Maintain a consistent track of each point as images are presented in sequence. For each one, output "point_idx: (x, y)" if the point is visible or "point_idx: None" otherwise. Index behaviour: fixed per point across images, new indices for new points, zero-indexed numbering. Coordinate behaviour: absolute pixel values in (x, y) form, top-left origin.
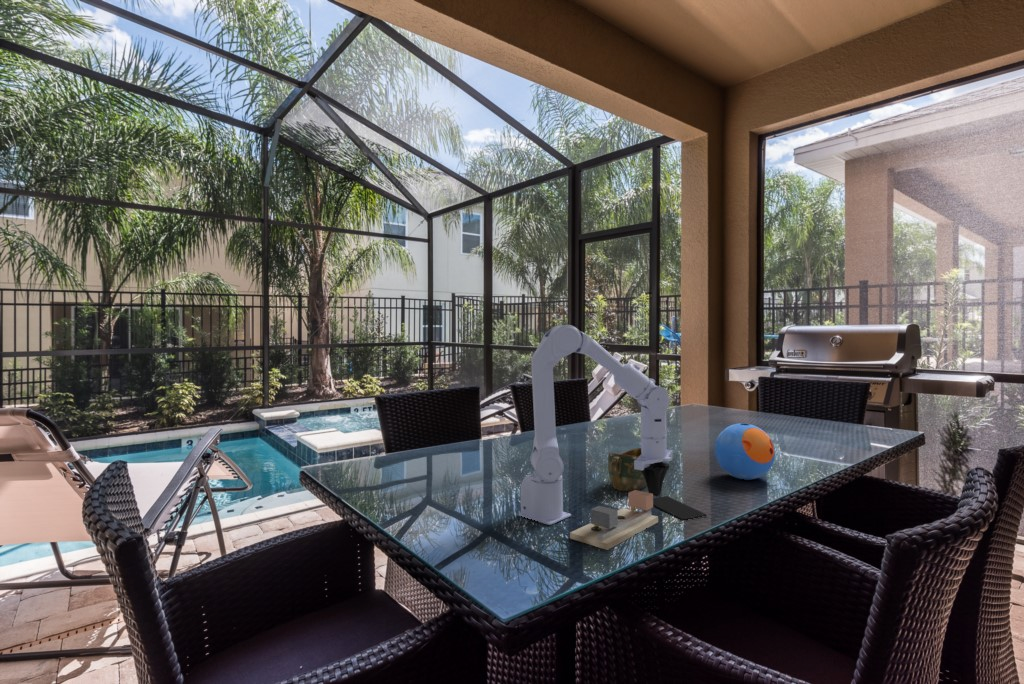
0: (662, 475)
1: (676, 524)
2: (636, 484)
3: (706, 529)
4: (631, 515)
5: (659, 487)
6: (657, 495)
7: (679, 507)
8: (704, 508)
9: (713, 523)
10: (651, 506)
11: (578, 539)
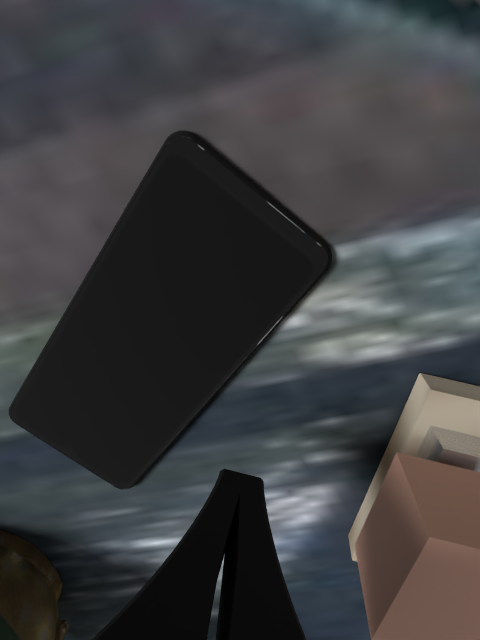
0: (205, 630)
1: (419, 272)
2: (6, 570)
3: (452, 52)
4: None
5: (247, 522)
6: (257, 479)
7: (139, 321)
8: (37, 187)
9: (295, 40)
10: (420, 464)
11: None
